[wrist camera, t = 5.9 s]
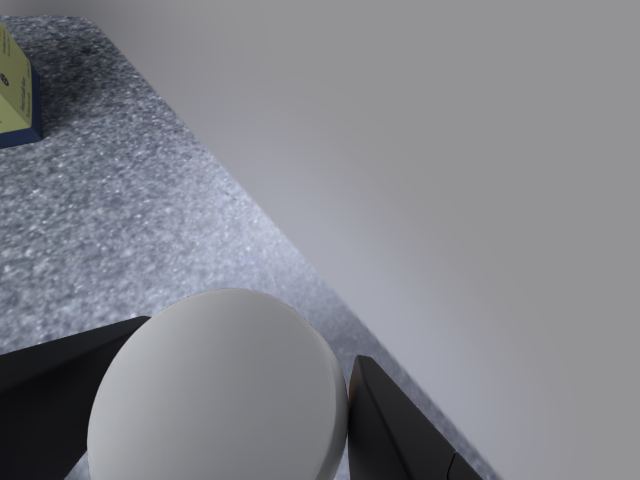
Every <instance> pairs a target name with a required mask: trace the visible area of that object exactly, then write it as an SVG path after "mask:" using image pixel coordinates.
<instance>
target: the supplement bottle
mask: <svg viewBox="0 0 640 480" xmlns="http://www.w3.org/2000/svg"><path fill="white" fill-rule="evenodd" d="M348 422H349V403H348V396H347V389H346V384H345V380H344V377H343V373H342V370H341V368H340V365H339V362H338V360H337V358H336V356H335V354H334V353H333V351H332V349H331V348H330V346H329V345H328V343H327V342H326V340H325V339H324V338H323V337H322V335H321V334H320V333H319V332H318V331H317V330H316V329H315V328H314V327H313V326H311V325H310V324H309V323H308V322H307V321H306V320H305V319H304V318H303V317H302V316H301V315H300V314H299V313H298V312H297V311H296V310H294V309H293V308H292V307H290V306H289V305H287V304H286V303H284V302H282V301H281V300H279V299H277V298H275V297H272V296H270V295H268V294H264V293H261V292H258V291H253V290H248V289H238V288H224V289H215V290H209V291H204V292H201V293H198V294H194V295H191V296H188V297H186V298H184V299H181V300H179V301H177V302H175V303H173V304H171V305H170V306H168V307H166V308H165V309H163V310H162V311H160V312H158V313H157V314H156V315H154V316H153V317H152V318H150V319H149V320H148V321H147V322H145V323H144V324H143V325H142V326H141V327H140V328H139V329H138V330H137V331H136V332H135V333H134V334H133V335H132V336H131V337H130V338H129V339H128V340H127V342H126V343H125V344H124V345H123V347H122V348H121V349H120V351H119V352H118V354H117V355H116V356H115V358H114V359H113V361H112V363H111V364H110V366H109V368H108V370H107V372H106V374H105V375H104V377H103V380H102V382H101V384H100V386H99V389H98V392H97V395H96V398H95V401H94V404H93V407H92V411H91V416H90V420H89V427H88V437H87V451H88V467H89V472H90V477H91V480H333V479H334V477H335V474H336V472H337V470H338V467H339V464H340V461H341V459H342V455H343V452H344V448H345V444H346V438H347V432H348Z"/></svg>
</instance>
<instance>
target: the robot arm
mask: <svg viewBox="0 0 640 480" xmlns="http://www.w3.org/2000/svg"><path fill="white" fill-rule="evenodd" d="M150 318H152V317H149V316H139V317H136V318H132V319H128V320H125V321H121V322H118V323H114V324H110V325H107V326H103V327H100V328H96V329H92V330H89V331H85V332H82V333H78V334H74V335H71V336H67V337H64V338H60V339H56V340H53V341H49V342H46V343H42V344H38V345H35V346H31V347H28V348H24V349H20V350H17V351H13V352H10V353H6V354H2V355H0V480H64V479H65V477H66V476H67V475H68V474H69V472H70V471H71V470H72V469H73V467H74V466H75V465H76V463H77V462H78V461H79V460H80V458H81V457H82V456H83V455H84V453H85V452H86V451H87V437H88V427H89V420H90V416H91V411H92V407H93V404H94V401H95V398H96V395H97V392H98V389H99V386H100V384H101V382H102V380H103V377H104V375H105V374H106V372H107V370H108V368H109V366H110V364H111V363H112V361H113V359H114V358H115V356H116V355H117V354H118V352H119V351H120V349H121V348H122V347H123V345H124V344H125V343H126V342H127V340H128V339H129V338H130V337H131V336H132V335H133V334H134V333H135V332H136V331H137V330H138V329H139V328H140V327H141V326H142V325H143V324H144V323H145V322H147V321H148V320H149V319H150ZM455 452H456V450H455V449H454V447H453V446H452V445H451V444H450V443H449V442H448V441H447V440H446V439H445V438H444V436H443V435H442V434H441V433H440V432H439V431H438V430H437V429H436V428H435V427H434V425H433V424H432V423H431V422H430V421H429V420H428V419H427V418H426V417H425V416H424V414H423V413H422V412H421V411H420V410H419V409H418V408H417V407H416V406H415V405H414V403H413V402H412V401H411V400H410V399H409V398H408V397H407V396H406V395H405V394H404V392H403V391H402V390H401V389H400V388H399V387H398V386H397V385H396V384H395V383H394V381H393V380H392V379H391V378H390V377H389V376H388V375H387V374H386V373H385V372H384V370H383V369H382V368H381V367H380V366H379V365H378V364H377V363H376V362H375V361H374V359H373V358H371V357H367V356H362V355H358V356H356V358H355V362H354V366H353V371H352V375H351V380H350V386H349V422H348V458H349V470H350V480H483V479H482V478H481V477H480V476H479V475H478V473H477V472H476V471H475V470H474V469H473V468H472V467H471V466H470V465H469V464H468V463H467V462H466V461H465V459H464V458H463V457H462V456H461V455H460V454H459V453H458V452H456V453H455Z"/></svg>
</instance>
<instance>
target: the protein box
mask: <svg viewBox="0 0 640 480" xmlns="http://www.w3.org/2000/svg"><path fill="white" fill-rule="evenodd" d="M41 140H42V139H41V106H40V79H39V74H38V73H37V71H36V70H35V69H34V67H33V66H32V64H31V63H30V62H29V60H28V59H27V57H26V56H25V55H24V53H23V52H22V50H21V49H20V48H19V46H18V45H17V43H16V42H15V41H14V39H13V38H12V37H11V35H10V34H9V32H8V31H7V29H6V28H5V26H4V25H3V24H2V22H1V21H0V149H1V148H6V147H11V146H16V145H21V144H27V143H32V142H37V141H41Z"/></svg>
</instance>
